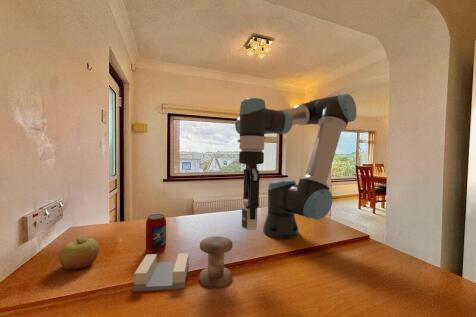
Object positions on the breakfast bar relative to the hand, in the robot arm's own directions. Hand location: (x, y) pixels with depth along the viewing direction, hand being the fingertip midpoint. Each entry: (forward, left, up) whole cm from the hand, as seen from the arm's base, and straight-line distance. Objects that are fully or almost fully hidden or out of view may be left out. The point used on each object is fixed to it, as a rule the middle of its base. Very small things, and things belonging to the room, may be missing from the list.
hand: (249, 226), depth 66 cm
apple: (+51, -5, -13) cm, 53 cm away
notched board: (+25, +3, -13) cm, 28 cm away
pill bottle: (0, 0, -1) cm, 1 cm away
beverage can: (+31, -14, -13) cm, 37 cm away
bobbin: (+10, +5, -13) cm, 17 cm away
